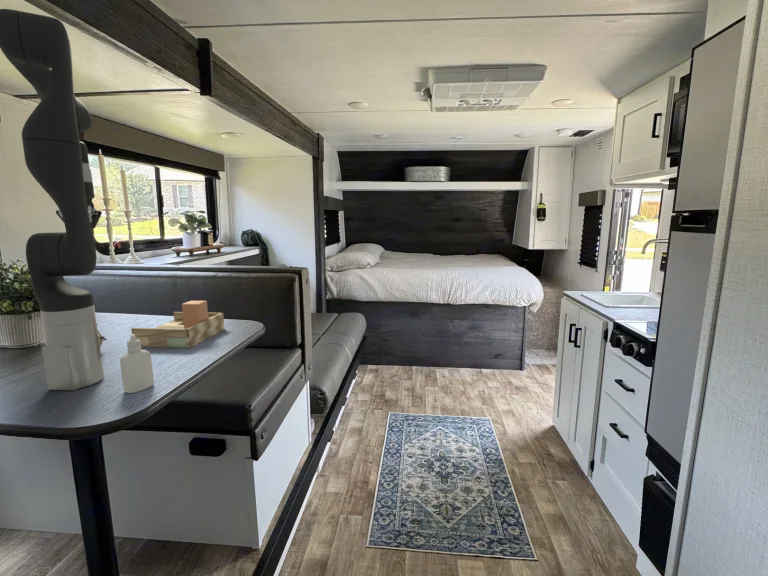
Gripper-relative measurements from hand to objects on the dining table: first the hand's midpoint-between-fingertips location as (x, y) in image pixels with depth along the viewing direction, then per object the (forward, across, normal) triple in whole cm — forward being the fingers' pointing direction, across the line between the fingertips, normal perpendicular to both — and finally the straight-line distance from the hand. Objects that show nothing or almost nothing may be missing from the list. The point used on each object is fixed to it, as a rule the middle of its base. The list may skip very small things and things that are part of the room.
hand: (84, 244), depth 112 cm
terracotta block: (+26, +8, -26) cm, 38 cm away
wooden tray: (+29, +8, -21) cm, 37 cm away
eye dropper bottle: (+29, -28, -34) cm, 53 cm away
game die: (+29, -9, -5) cm, 31 cm away
